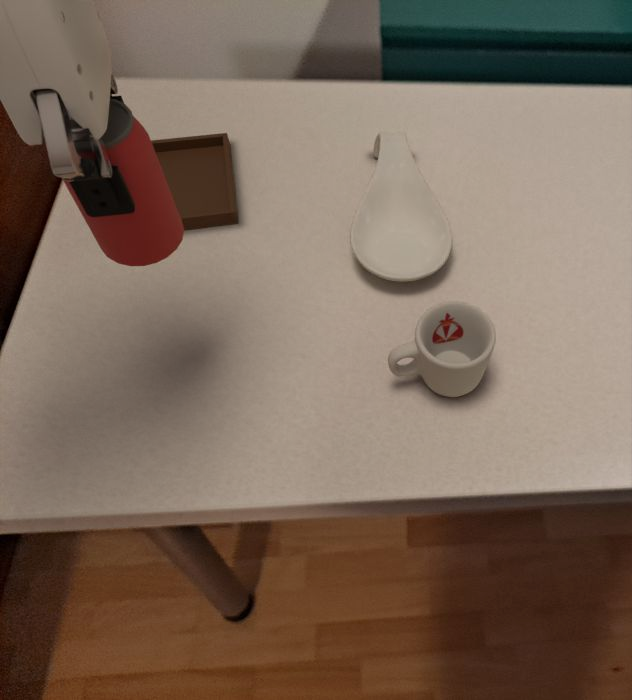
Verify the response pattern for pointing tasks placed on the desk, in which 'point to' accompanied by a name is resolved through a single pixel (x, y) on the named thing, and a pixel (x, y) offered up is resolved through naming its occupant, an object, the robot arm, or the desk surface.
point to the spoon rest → (399, 217)
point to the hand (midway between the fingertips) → (114, 175)
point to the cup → (448, 348)
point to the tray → (200, 178)
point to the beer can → (133, 195)
